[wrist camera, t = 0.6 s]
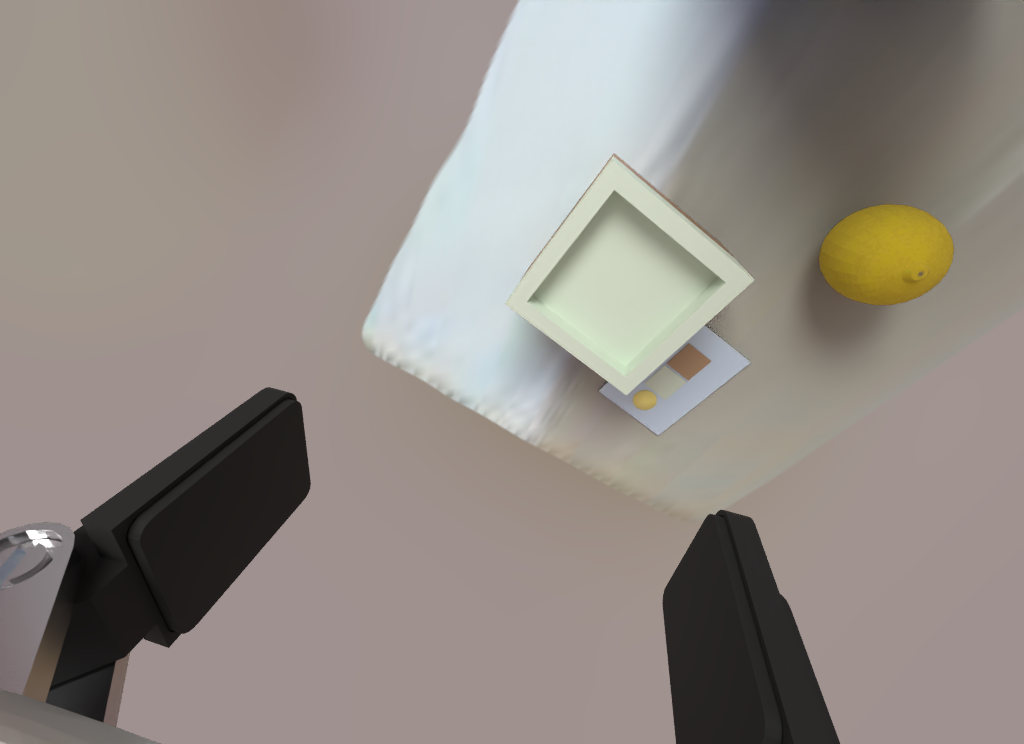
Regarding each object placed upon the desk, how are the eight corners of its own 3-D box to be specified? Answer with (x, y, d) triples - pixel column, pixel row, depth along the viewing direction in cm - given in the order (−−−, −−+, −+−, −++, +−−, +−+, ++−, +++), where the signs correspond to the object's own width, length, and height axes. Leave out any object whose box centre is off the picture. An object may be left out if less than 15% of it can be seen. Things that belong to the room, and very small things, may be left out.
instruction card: (684, 308, 33) (684, 310, 33) (750, 361, 34) (751, 363, 34) (598, 390, 38) (598, 391, 38) (658, 434, 39) (658, 436, 39)
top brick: (613, 156, 26) (612, 160, 22) (735, 258, 27) (754, 279, 23) (519, 282, 31) (505, 303, 27) (625, 363, 32) (626, 395, 28)
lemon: (868, 288, 30) (942, 334, 23) (786, 271, 30) (834, 311, 23) (919, 205, 27) (1021, 230, 20) (827, 188, 27) (896, 207, 21)
